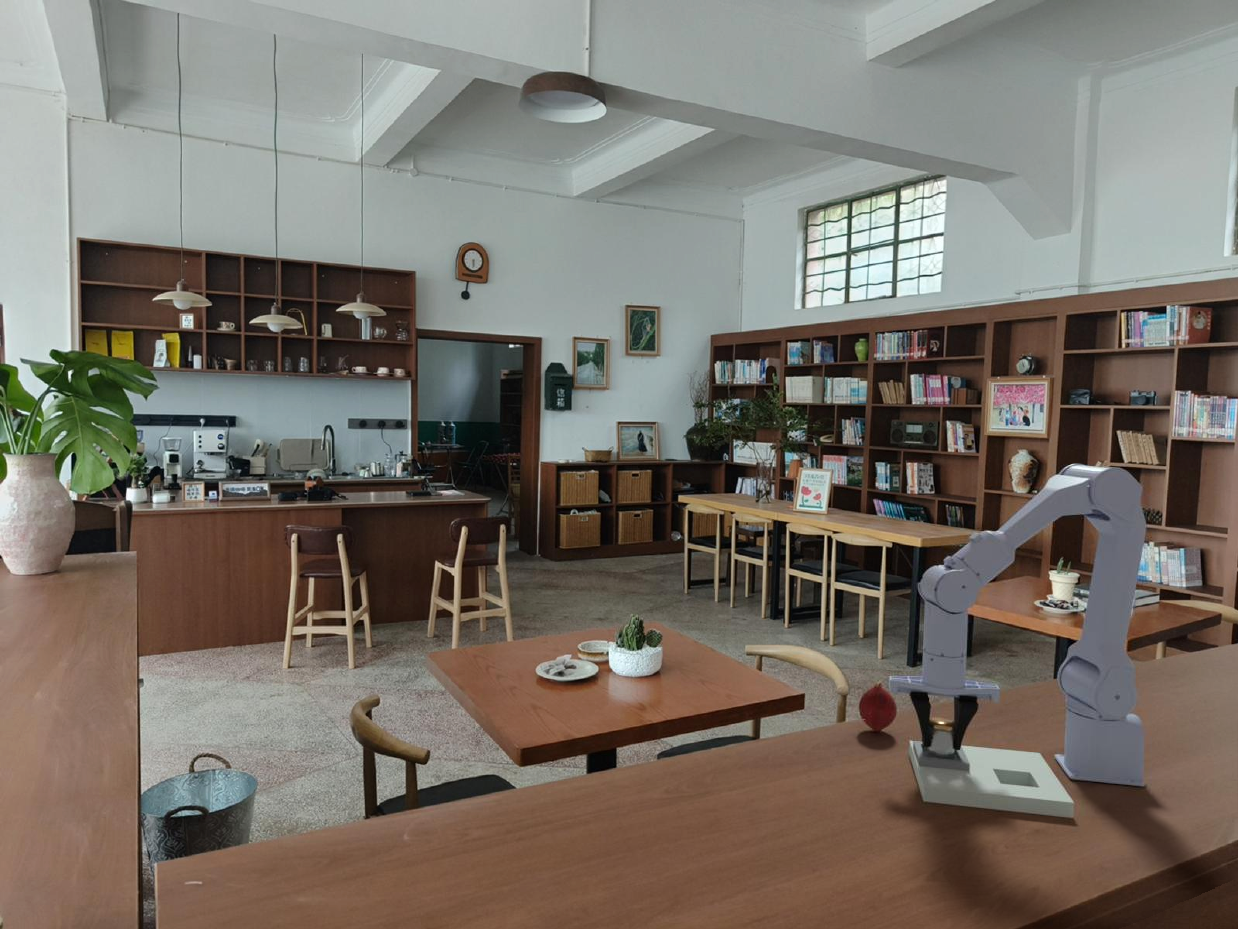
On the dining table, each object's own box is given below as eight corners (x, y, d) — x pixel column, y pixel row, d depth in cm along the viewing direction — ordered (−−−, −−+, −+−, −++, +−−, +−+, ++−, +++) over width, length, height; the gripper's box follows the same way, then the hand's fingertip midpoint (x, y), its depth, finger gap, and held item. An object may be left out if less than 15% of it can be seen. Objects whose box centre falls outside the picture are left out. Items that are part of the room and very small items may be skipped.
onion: (897, 740, 130) (899, 689, 129) (859, 736, 131) (861, 687, 130) (893, 726, 135) (895, 678, 135) (856, 723, 136) (858, 675, 136)
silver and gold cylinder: (951, 767, 119) (953, 719, 118) (955, 777, 115) (956, 727, 115) (926, 764, 120) (927, 716, 119) (928, 774, 116) (930, 725, 116)
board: (1039, 766, 120) (1039, 746, 120) (1073, 818, 105) (1074, 795, 105) (908, 753, 124) (909, 734, 124) (923, 801, 109) (924, 779, 109)
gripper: (993, 648, 119) (989, 740, 120) (888, 640, 122) (885, 730, 123) (1004, 662, 112) (1000, 760, 113) (892, 653, 115) (889, 749, 116)
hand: (940, 746), depth 117 cm, fingers closed on silver and gold cylinder, 3 cm apart
